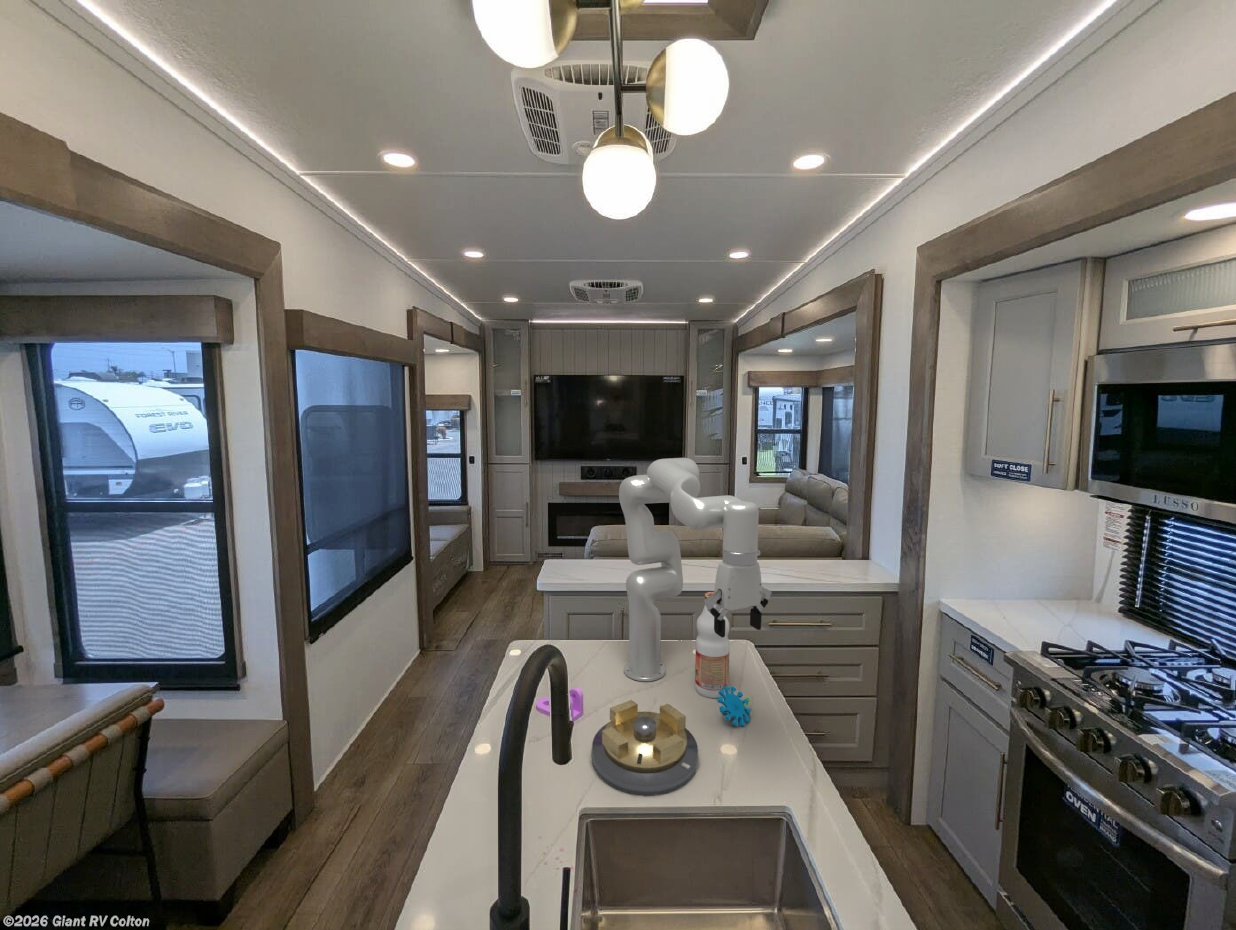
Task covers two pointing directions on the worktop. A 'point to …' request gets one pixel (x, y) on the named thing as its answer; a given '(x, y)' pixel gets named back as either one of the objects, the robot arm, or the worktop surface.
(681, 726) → the four-jaw chuck
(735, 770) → the worktop surface
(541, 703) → the bracket
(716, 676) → the fruit juice
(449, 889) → the worktop surface
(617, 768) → the cap flange
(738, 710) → the gear
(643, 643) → the robot arm
